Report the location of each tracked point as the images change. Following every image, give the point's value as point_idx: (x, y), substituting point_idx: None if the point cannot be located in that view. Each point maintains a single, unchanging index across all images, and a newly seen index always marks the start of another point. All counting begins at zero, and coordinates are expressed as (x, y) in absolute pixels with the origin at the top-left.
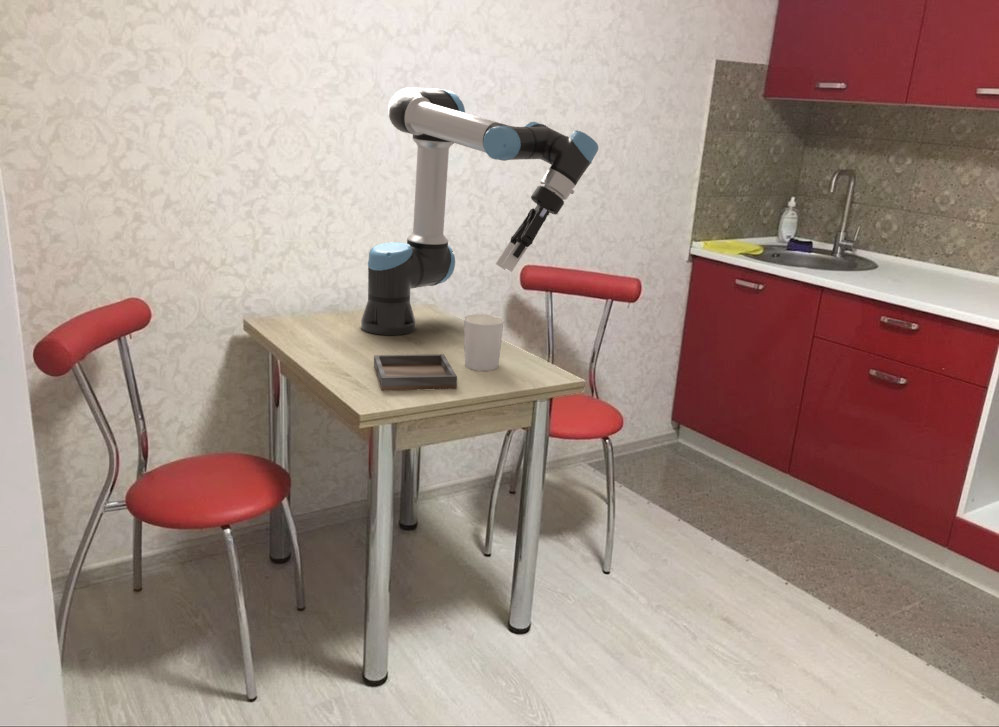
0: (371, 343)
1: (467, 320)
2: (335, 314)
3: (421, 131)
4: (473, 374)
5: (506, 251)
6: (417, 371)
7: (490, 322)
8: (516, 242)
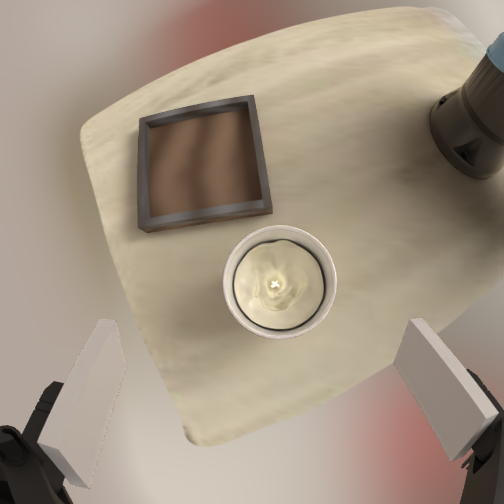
0: (382, 104)
1: (308, 239)
2: None
3: None
4: None
5: (449, 384)
6: (212, 166)
7: (324, 305)
8: (486, 452)
